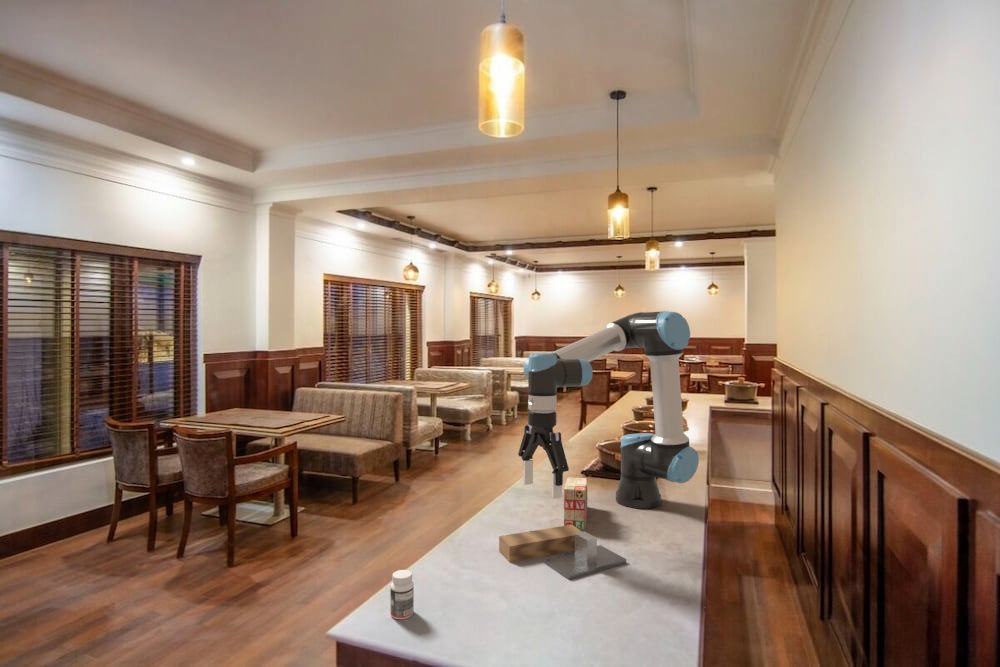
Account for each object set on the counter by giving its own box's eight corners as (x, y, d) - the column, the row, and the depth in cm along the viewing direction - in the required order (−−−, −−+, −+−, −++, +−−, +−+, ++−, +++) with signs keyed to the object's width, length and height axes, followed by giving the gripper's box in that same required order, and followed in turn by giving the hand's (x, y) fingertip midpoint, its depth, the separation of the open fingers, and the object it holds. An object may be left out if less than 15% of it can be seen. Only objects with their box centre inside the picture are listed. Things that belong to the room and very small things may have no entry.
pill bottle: (391, 608, 111) (391, 568, 111) (414, 607, 112) (414, 568, 112) (389, 620, 107) (389, 579, 107) (412, 619, 107) (412, 578, 107)
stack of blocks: (568, 506, 177) (568, 469, 176) (587, 507, 175) (587, 470, 175) (563, 529, 156) (563, 488, 155) (585, 531, 154) (585, 489, 154)
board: (571, 540, 148) (571, 524, 148) (584, 550, 142) (584, 533, 142) (499, 553, 140) (499, 536, 140) (509, 563, 134) (509, 546, 133)
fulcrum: (600, 548, 142) (600, 522, 142) (626, 563, 133) (626, 535, 133) (544, 563, 133) (544, 535, 133) (568, 579, 124) (568, 550, 124)
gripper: (506, 405, 150) (506, 480, 150) (558, 418, 128) (557, 506, 128) (528, 404, 153) (528, 477, 153) (582, 416, 132) (582, 501, 132)
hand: (541, 490), depth 141 cm, fingers open, 13 cm apart
